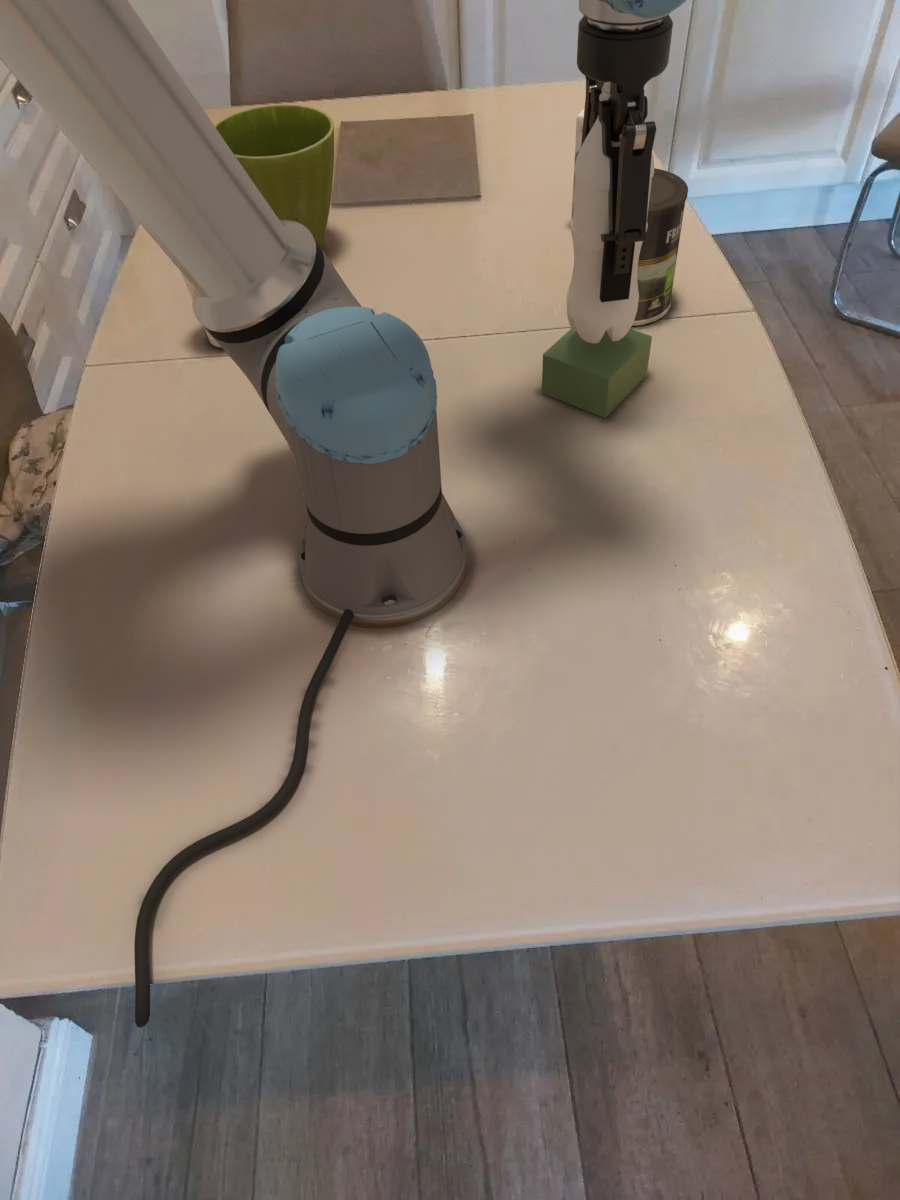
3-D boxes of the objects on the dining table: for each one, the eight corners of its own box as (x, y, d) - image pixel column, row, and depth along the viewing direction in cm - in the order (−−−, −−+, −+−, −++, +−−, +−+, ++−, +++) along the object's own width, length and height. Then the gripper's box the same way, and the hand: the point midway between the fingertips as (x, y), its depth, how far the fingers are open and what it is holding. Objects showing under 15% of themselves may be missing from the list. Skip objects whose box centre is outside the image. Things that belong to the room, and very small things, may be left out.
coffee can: (676, 285, 112) (694, 169, 101) (663, 331, 106) (681, 214, 95) (593, 275, 114) (602, 162, 104) (576, 320, 108) (584, 205, 97)
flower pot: (353, 222, 126) (336, 100, 114) (348, 279, 117) (330, 152, 104) (246, 229, 126) (218, 107, 114) (232, 286, 117) (200, 160, 105)
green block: (605, 418, 96) (609, 379, 92) (541, 393, 99) (542, 354, 96) (646, 375, 101) (652, 336, 97) (584, 352, 104) (587, 313, 100)
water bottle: (632, 352, 92) (664, 87, 73) (561, 347, 93) (574, 84, 74) (637, 313, 96) (668, 53, 77) (569, 308, 98) (584, 51, 79)
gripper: (713, 55, 66) (670, 329, 84) (637, -28, 79) (614, 223, 97) (612, 67, 66) (591, 339, 84) (553, -19, 79) (545, 232, 97)
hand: (603, 277), depth 90 cm, fingers closed on water bottle, 7 cm apart
